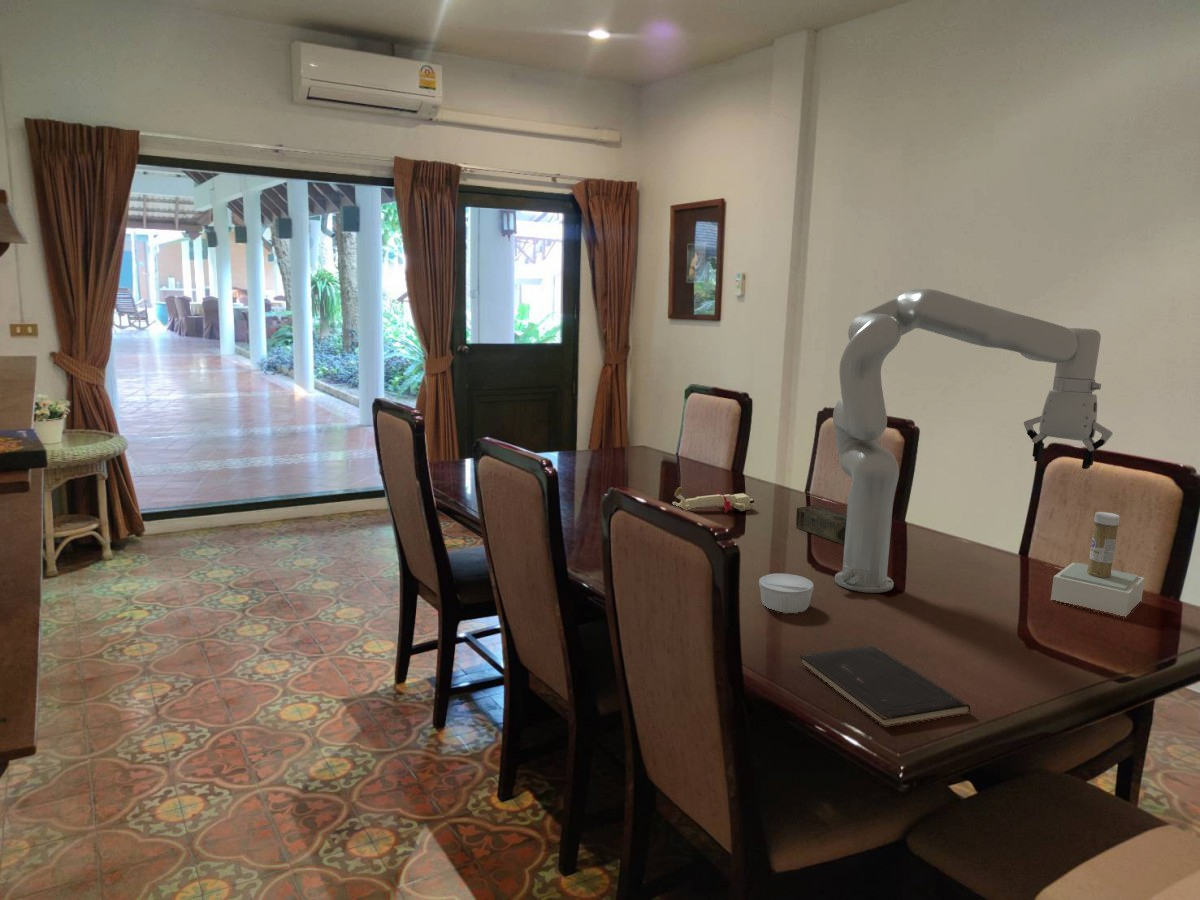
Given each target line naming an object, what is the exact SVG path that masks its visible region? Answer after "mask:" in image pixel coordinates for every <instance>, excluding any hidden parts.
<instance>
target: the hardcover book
mask: <svg viewBox="0 0 1200 900" xmlns="http://www.w3.org/2000/svg"><path fill="white" fill-rule="evenodd" d="M799 658H801V659H802V661H801V664H802V663H803V664H804V665H805V666H807V667H808V668H809V669H811V670H812V671H813V672H814V673H815V674H817V675H818V676H819V677H820V678H822V679H823V680H824V681H825V682H827V683H828V684H829V685H830V686H831V687H833V688H834V689H835V690H836V692H837V691H838V692H839V693H841V694H842V695H843V696H844V697H846V698H847V699H849V700H850V701H851V702H853V703H854V704H856V705H857V706H859V707H860V708H861V709H863V710H864V711H866V712H867V713H868V714H870V715H871V716H872V717H874V718H875V719H877V720H878V721H880V722H881V723H882V724H884V725H890V724H895V723H903V722H909V721H916V720H923V719H928V718H934V717H939V716H946V715H952V714H958V713H964V712H970V713H971V706H970V704H969V703H967V702H965V701H964V700H963V699H961V698H960V697H957V696H955V694H952V693H951V692H950V691H948V690H946V689H945V688H943V687H941V686H940V685H939V684H937V683H936V682H934V681H932V680H931V679H929V678H928V677H926V676H924V675H922V674H921V673H919V671H916V670H915V669H913V668H912V667H910V666H908V665H907V664H906V663H904V662H902V661H900V660H899V659H897V658H896V657H894V656H892V655H891V654H889V653H888V652H886V651H884V650H883V649H881V648H880V647H879V646H877V645H875V644H874V645H867V646H859V647H853V648H844V649H838V650H837V649H836V650H830V651H822V652H816V653H815V652H813V653H807V654H800V655H799ZM820 678H819V679H820ZM824 681H823V682H824ZM825 682H824V683H825ZM828 684H827V685H828ZM829 685H828V686H829ZM830 686H829V687H830ZM831 687H830V688H831ZM833 688H832V689H833ZM834 689H833V690H834ZM835 690H834V691H835ZM838 692H837V693H838ZM839 693H838V694H839ZM841 694H840V695H841ZM842 695H841V696H842ZM843 696H842V697H843ZM844 697H843V698H844ZM846 698H845V699H846ZM847 699H846V700H847ZM850 701H849V702H850ZM851 702H850V703H851ZM854 704H853V705H854Z"/></svg>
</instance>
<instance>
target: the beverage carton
mask: <svg viewBox="0 0 1200 900" xmlns="http://www.w3.org/2000/svg"><path fill="white" fill-rule="evenodd" d="M846 519H847V513H846V514H845V513H843V512H840V511H836V510H834V509H831V508H828V507H825V506H822V505H818V504H813V505H807V506H800V507H796V520H795V521H796V523H795V527H796V528H797V529H799V530H802V531H805V532H807V533H809V534H813V535H815V536H818V537H820V538H823V539H826V540H828V541H832V542H834V543H837V544H840V545H845V532H846Z"/></svg>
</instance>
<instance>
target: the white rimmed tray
mask: <svg viewBox="0 0 1200 900" xmlns="http://www.w3.org/2000/svg"><path fill="white" fill-rule="evenodd" d="M1088 565H1089V564H1086V563H1080V562H1071V563H1070V564H1069V565H1067V566H1066V567H1065V568H1063V569H1062V570H1061V571H1059V572H1057V573H1056V574H1055V575H1054V576H1053V579H1052V588H1051V593H1050V594H1051V595H1050V601H1051V600H1056V601H1060V602H1064V603H1069V604H1073V605H1079V606H1083V607H1087V608H1091V609H1095V610H1100V611H1104V612H1109V613H1113V614H1116V615H1120V616H1125V617H1126V616H1127V615H1128V614H1129V613H1130V612H1131V610H1132V609H1133V608H1134V607H1135V606H1136V605H1137V604H1138V603H1139V602H1140V601H1141V602H1142V600H1143V593H1144V584H1145V577H1143V576H1139V575H1137V574H1134V573H1130V572H1129V573H1128V572H1124V571H1118V570H1114V569H1111V576H1110V577H1096V576H1093V575H1090V574H1089V573H1087V569H1088ZM1131 613H1132V612H1131Z"/></svg>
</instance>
